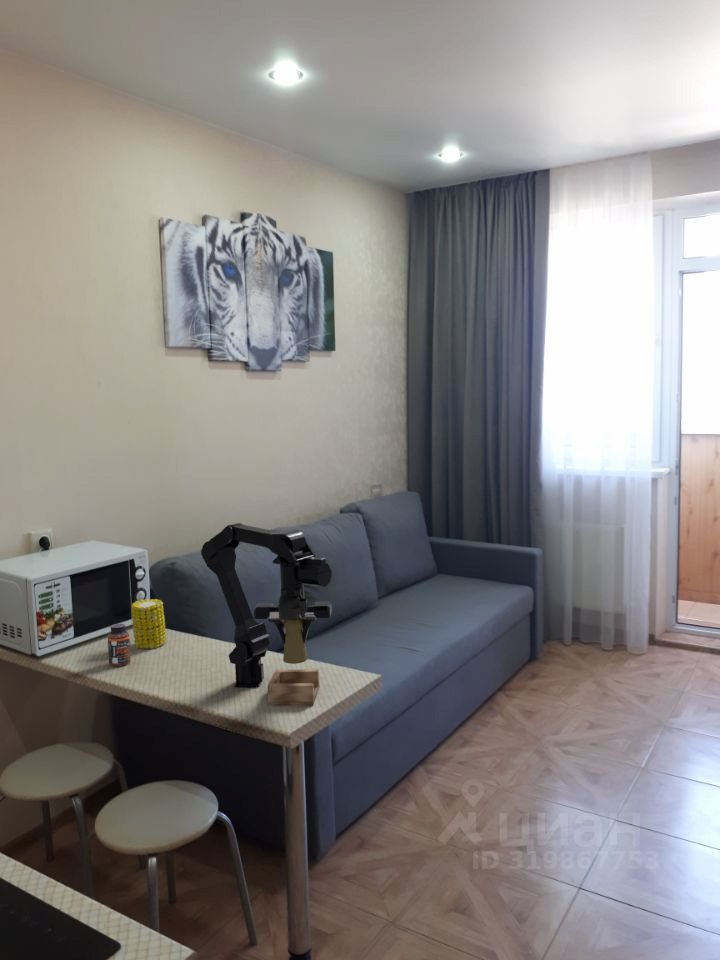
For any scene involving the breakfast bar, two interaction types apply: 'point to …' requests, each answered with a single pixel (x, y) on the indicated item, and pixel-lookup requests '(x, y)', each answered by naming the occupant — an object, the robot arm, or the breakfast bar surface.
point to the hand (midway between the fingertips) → (294, 643)
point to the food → (148, 623)
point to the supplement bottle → (119, 646)
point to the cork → (294, 641)
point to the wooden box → (293, 687)
